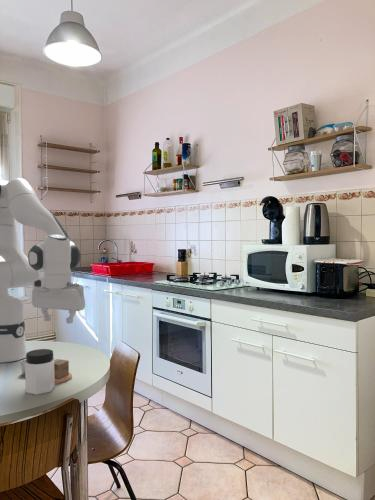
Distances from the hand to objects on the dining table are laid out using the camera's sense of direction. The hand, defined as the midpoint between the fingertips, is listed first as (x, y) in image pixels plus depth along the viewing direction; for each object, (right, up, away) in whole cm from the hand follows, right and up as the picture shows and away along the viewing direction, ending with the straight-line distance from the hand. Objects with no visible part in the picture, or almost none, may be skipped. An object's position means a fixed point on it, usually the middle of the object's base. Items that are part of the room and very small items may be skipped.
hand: (58, 321), depth 141 cm
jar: (-2, -20, -11) cm, 23 cm away
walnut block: (0, -19, -1) cm, 19 cm away
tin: (-12, -19, +4) cm, 23 cm away
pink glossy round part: (0, -19, -1) cm, 19 cm away
